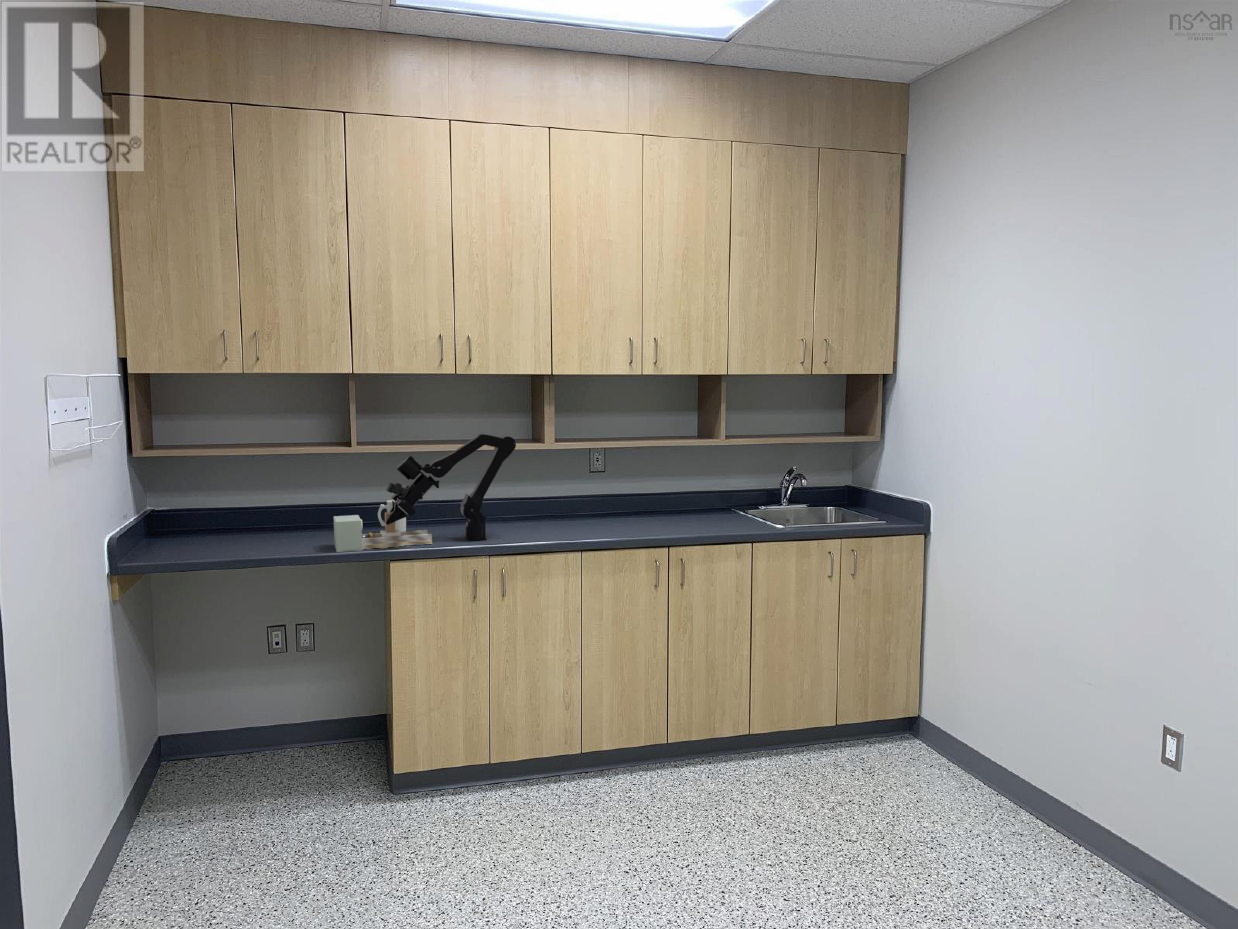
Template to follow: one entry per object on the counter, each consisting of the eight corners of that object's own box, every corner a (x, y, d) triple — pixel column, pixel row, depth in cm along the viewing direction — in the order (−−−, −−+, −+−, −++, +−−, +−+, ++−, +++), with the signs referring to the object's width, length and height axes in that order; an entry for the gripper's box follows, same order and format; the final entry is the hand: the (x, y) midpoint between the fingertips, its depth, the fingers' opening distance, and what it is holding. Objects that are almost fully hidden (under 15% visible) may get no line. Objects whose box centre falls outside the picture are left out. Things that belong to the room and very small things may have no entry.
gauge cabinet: (360, 543, 286) (359, 514, 285) (363, 550, 275) (362, 520, 274) (334, 545, 283) (333, 516, 282) (336, 552, 272) (335, 522, 271)
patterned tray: (427, 539, 294) (427, 529, 293) (432, 544, 284) (432, 534, 284) (359, 544, 285) (359, 534, 285) (362, 549, 276) (361, 539, 276)
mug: (407, 531, 309) (406, 499, 308) (406, 534, 302) (405, 502, 301) (379, 532, 307) (378, 500, 306) (377, 535, 300) (376, 502, 299)
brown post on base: (398, 538, 288) (397, 511, 287) (400, 541, 282) (400, 513, 281) (380, 539, 286) (379, 512, 285) (382, 542, 280) (381, 514, 279)
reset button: (371, 539, 284) (371, 532, 284) (373, 542, 279) (372, 534, 279) (353, 541, 282) (353, 533, 282) (354, 543, 277) (354, 536, 277)
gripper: (396, 470, 292) (365, 503, 289) (404, 476, 274) (370, 511, 272) (420, 491, 295) (389, 524, 292) (429, 498, 278) (396, 533, 275)
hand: (385, 523), depth 283 cm, fingers closed on brown post on base, 3 cm apart
